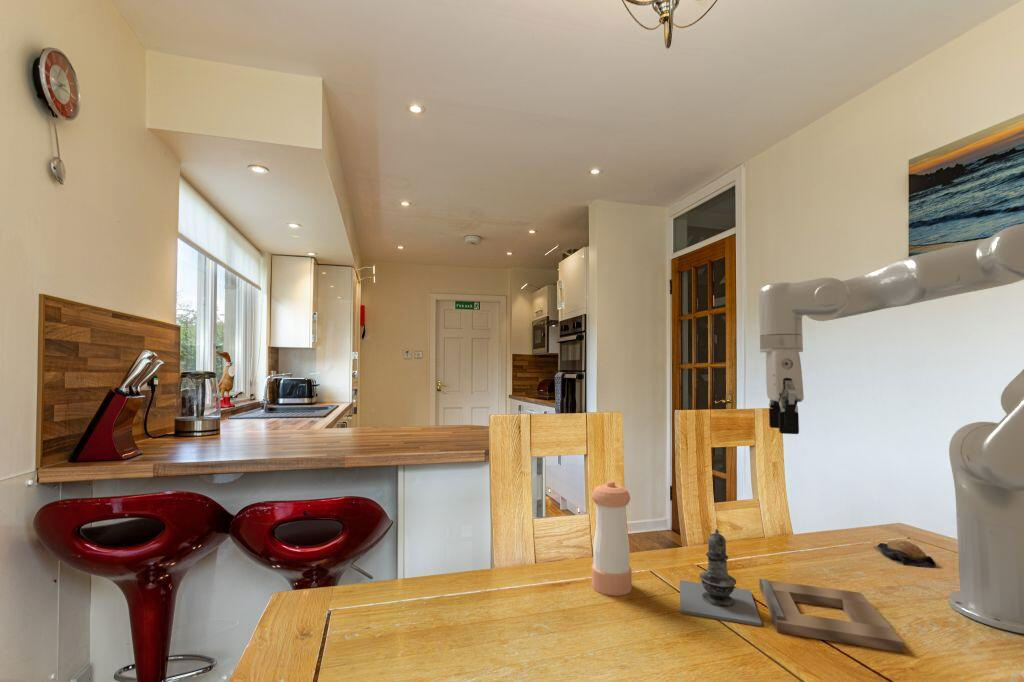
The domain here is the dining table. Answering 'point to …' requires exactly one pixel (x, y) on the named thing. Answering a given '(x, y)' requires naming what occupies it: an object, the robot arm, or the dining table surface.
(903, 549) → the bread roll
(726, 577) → the salt shaker
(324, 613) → the dining table surface
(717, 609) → the slate mat
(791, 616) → the brown wooden square frame
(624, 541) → the pepper shaker
